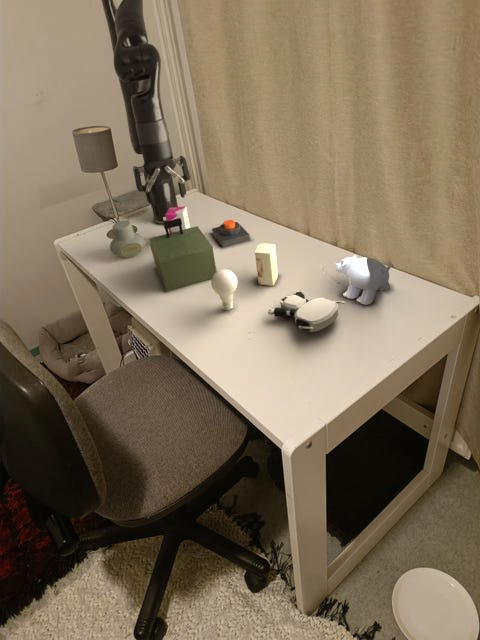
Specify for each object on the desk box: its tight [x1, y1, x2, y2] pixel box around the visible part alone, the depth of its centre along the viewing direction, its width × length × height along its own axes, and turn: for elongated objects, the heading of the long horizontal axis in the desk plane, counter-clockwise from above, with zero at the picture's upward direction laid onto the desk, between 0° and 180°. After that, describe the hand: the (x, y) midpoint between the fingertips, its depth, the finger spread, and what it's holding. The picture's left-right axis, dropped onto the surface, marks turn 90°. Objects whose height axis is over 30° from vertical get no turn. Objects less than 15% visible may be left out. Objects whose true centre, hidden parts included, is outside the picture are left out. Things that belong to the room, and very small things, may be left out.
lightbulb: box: [210, 268, 238, 311], centre depth 108 cm, size 6×6×11 cm
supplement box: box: [165, 206, 191, 233], centre depth 140 cm, size 6×6×12 cm
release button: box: [222, 219, 236, 229], centre depth 140 cm, size 4×4×2 cm
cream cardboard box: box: [254, 242, 279, 287], centre depth 116 cm, size 5×4×10 cm
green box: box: [149, 243, 218, 292], centre depth 125 cm, size 14×15×9 cm
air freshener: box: [109, 220, 146, 258], centre depth 139 cm, size 11×8×10 cm
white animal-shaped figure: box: [334, 254, 394, 306], centre depth 108 cm, size 11×15×10 cm
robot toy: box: [267, 290, 346, 333], centre depth 103 cm, size 12×4×15 cm
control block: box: [211, 221, 251, 249], centre depth 141 cm, size 11×9×4 cm
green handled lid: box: [148, 218, 214, 263], centre depth 121 cm, size 15×15×5 cm
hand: (167, 200), depth 120 cm, fingers open, 8 cm apart
